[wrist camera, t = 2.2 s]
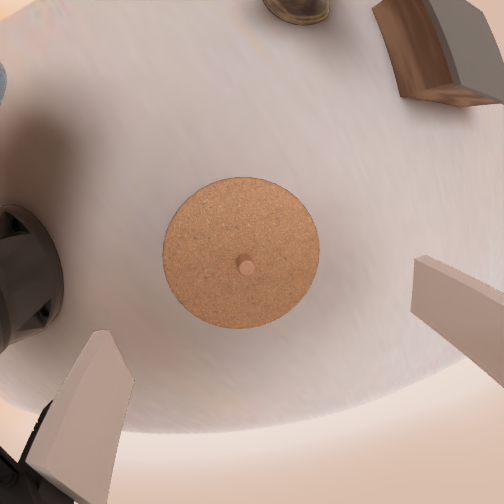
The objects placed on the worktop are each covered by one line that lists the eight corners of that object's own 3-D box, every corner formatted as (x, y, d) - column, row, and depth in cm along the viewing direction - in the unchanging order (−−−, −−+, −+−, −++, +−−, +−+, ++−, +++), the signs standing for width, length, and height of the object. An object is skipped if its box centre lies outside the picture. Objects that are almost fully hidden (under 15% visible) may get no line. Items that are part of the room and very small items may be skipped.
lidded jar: (162, 194, 23) (135, 205, 14) (276, 165, 24) (315, 161, 15) (194, 299, 26) (190, 357, 17) (297, 272, 27) (336, 316, 18)
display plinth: (398, 100, 24) (461, 84, 14) (367, 5, 19) (412, -29, 10) (463, 110, 25) (515, 107, 16) (438, 28, 21) (482, 12, 11)
